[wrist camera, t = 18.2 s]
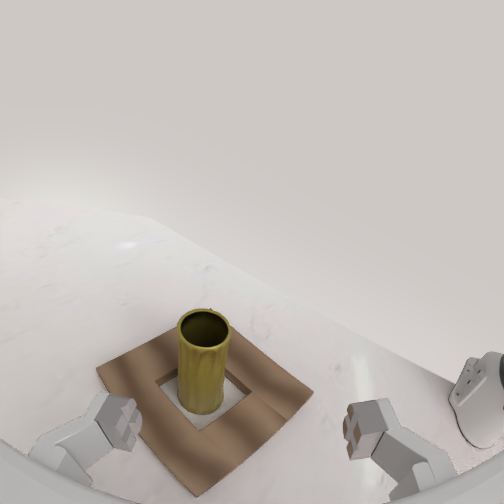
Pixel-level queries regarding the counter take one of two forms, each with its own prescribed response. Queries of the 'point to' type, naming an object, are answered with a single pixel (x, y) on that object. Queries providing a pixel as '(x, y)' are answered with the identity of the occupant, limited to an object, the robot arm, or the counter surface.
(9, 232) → the counter surface
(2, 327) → the counter surface
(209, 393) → the vase
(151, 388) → the socket
